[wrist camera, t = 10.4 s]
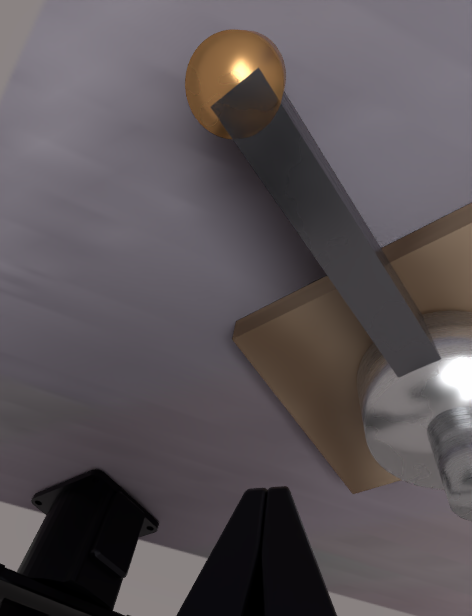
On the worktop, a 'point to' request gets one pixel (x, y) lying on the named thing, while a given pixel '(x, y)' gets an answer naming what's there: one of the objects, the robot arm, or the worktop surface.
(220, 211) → the worktop surface
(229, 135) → the amber-knobbed lever
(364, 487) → the block
